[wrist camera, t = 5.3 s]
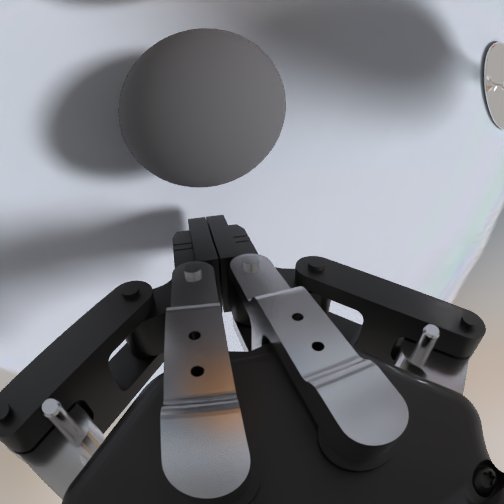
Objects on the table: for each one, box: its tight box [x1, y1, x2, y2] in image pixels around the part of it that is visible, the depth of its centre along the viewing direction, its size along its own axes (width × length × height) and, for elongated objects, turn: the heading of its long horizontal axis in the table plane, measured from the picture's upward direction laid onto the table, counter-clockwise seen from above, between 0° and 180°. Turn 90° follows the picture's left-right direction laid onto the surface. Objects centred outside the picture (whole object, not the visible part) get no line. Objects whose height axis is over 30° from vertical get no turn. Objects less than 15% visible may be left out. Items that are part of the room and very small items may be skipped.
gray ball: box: [119, 29, 286, 187], centre depth 9 cm, size 6×6×6 cm
